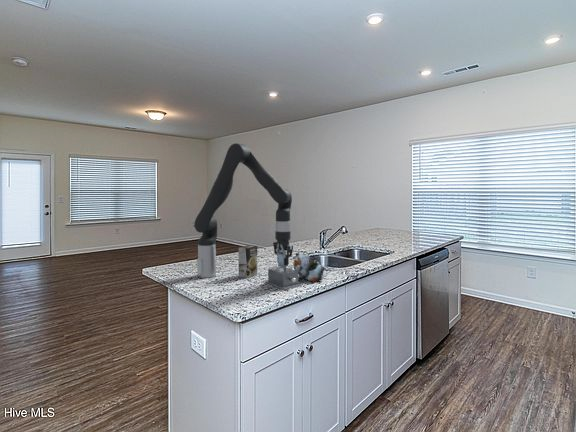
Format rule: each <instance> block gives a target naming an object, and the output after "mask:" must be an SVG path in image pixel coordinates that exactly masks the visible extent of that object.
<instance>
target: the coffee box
mask: <svg viewBox="0 0 576 432" xmlns="http://www.w3.org/2000/svg"><path fill="white" fill-rule="evenodd" d="M257 275H258V245H251V244H247V245H243V246H239V247H238V277H239V278H245V279H249V278H251V277H255V276H257Z"/></svg>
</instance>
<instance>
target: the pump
mask: <svg viewBox="0 0 576 432" xmlns="http://www.w3.org/2000/svg"><path fill="white" fill-rule="evenodd" d="M286 254H287V253H286ZM288 266H289V264H288V265H286V266H285V265H284V254H283V253H282V251H280V253H278V261H277V267H286V268H288Z"/></svg>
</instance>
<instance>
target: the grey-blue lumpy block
mask: <svg viewBox="0 0 576 432" xmlns="http://www.w3.org/2000/svg"><path fill="white" fill-rule="evenodd" d="M292 264H293V265H292V267H293V270H295V271H298V278H301V279H305V280H307V281H309V282H312V283H317V282H318V281H319V282H320V281H322V280H323V279H324V273H325V267H324V266H322V265H321V263H320V262H319V261H317V260H316V259H314V260H312V259H311V257H310V256H309V255H308V254H305V252H302V253H301V254H300V253H298V252H296V253H295V258H294V260H293V262H292ZM319 282H318V283H319Z"/></svg>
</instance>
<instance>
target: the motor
mask: <svg viewBox="0 0 576 432" xmlns="http://www.w3.org/2000/svg"><path fill="white" fill-rule="evenodd" d="M267 274H268V275H267V277H268V279H267V280H265V283H266V284H268V285H271V286H273V287H276V288H278V289H281V290H282V291H285V290H287V289H292V288H296V287H301V286H302V283H301V282H299V274H298V271H295V270H294V269H293V265H289V267H279V266H278V265H273V267H271V268H268V270H267Z"/></svg>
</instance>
